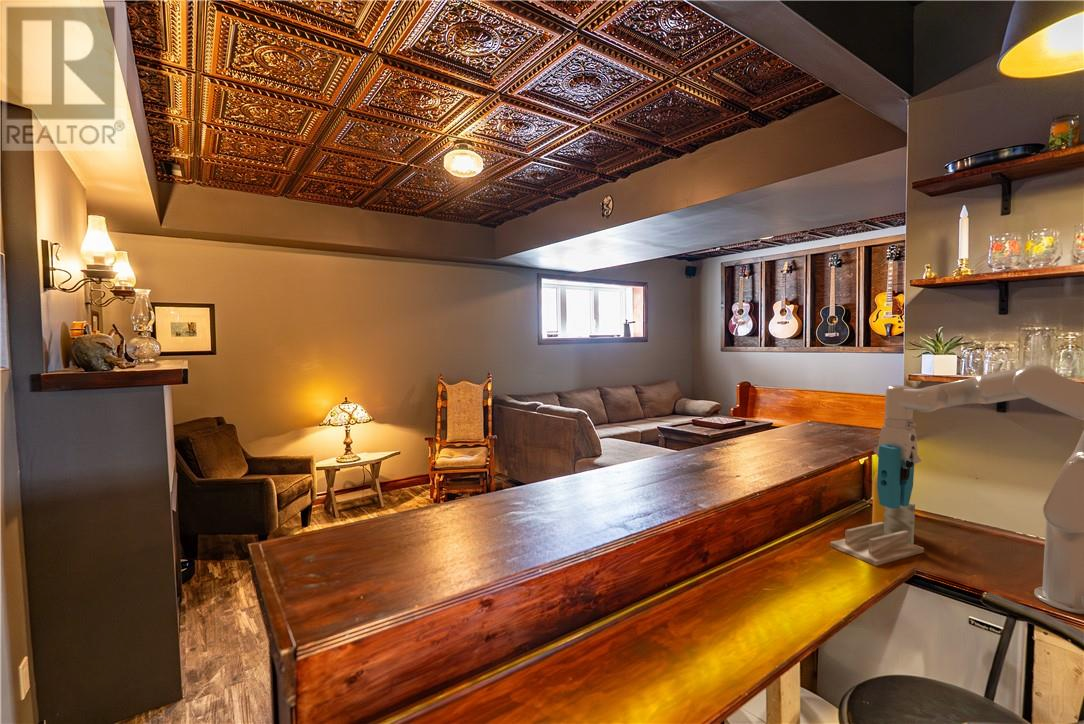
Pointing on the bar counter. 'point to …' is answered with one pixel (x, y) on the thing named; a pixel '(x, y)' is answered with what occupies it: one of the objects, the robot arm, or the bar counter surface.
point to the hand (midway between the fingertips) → (895, 476)
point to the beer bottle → (877, 504)
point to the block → (892, 478)
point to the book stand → (882, 538)
